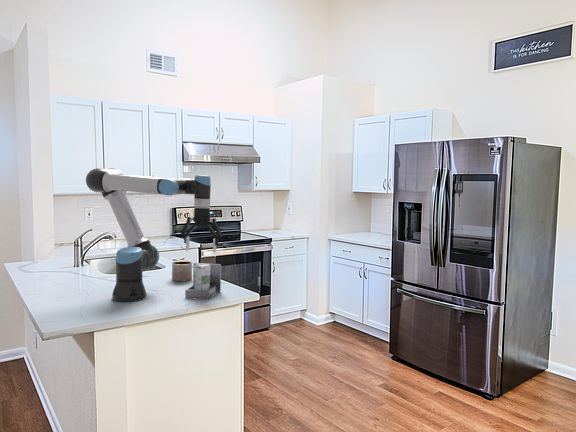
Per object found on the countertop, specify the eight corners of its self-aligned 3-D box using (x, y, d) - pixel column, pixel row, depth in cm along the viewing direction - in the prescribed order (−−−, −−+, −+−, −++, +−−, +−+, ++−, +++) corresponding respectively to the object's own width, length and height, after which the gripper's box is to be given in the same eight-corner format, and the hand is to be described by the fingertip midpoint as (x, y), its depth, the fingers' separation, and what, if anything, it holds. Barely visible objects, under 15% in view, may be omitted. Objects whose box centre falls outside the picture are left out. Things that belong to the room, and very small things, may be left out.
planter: (177, 282, 247) (177, 265, 246) (168, 279, 255) (168, 262, 254) (195, 280, 254) (195, 263, 253) (185, 276, 262) (186, 260, 261)
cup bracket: (182, 297, 218) (183, 268, 217) (194, 289, 234) (194, 262, 232) (211, 299, 216) (211, 270, 215) (220, 291, 232) (221, 264, 230)
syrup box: (201, 291, 227) (202, 262, 226) (210, 293, 223) (210, 264, 222) (193, 293, 222) (193, 264, 221) (201, 295, 219) (201, 266, 217)
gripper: (174, 206, 217) (173, 250, 219) (225, 209, 214) (223, 254, 216) (180, 205, 225) (179, 248, 227) (229, 208, 221) (228, 251, 223)
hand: (200, 251), depth 221 cm, fingers open, 13 cm apart
